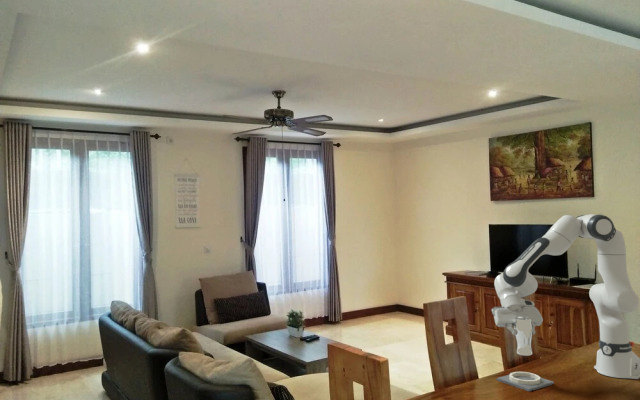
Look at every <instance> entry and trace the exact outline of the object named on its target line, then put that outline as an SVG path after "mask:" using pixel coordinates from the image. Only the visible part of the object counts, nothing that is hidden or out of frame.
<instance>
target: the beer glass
mask: <svg viewBox="0 0 640 400" xmlns="http://www.w3.org/2000/svg"><path fill="white" fill-rule="evenodd" d="M517 318H523V319H525V320H519V319H517ZM513 329H515V330H516V332H517V335H515V339H516V344H517V348H516V354H517V355H519V356H525V357H526V356H527V357H528V356H531V355H533V351H532V350H533V349H532V337H533V334H532V323H531V318H529V317H515V318H514V327H513Z"/></svg>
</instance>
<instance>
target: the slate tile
mask: <svg viewBox="0 0 640 400" xmlns="http://www.w3.org/2000/svg"><path fill="white" fill-rule="evenodd" d="M496 381H498V382H500V383H504V384H505V385H506V384H507V385H508V386H509V385H510V386H512V387H514V386H515V387H514V388H517V389H521V390H523V389H524V391H525V392H526V391H527V392H532V390H533V391H535V390H539V389H542V388H545V387H546V388H547V387H549V386H553V385H554V384H555V381H553V380H549V379H546V378H543V377H541V376H539V375H538V374H535V373H532V372H529V371H528V372H527V371H513V372H510V373H509V374H507V375H503V376H499V377H496ZM552 384H553V385H552Z"/></svg>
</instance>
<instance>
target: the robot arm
mask: <svg viewBox="0 0 640 400" xmlns="http://www.w3.org/2000/svg"><path fill="white" fill-rule="evenodd" d="M577 238H582V239H587V240H588V239H589V240H594V241H595V243H596V247H597V251H596V252H597V256H596V257H597V272H598V273H599V275H600V276H601V278H602V280H603V282H601V283H596V284H594V285H592V286H591V287H590V289H589V292H588V294H589V295H588V296H589V298H590V300H591V302H593V306H594V307H595V308H594V309H595V311H596V314H597V318H598V323H599V339H598V347H599V349H598V350H597V351H596V364H595V365H593V368H594V369H595V370H596V371H597V372H598V374H601V375H603V376H607V377H611V378H618V379H632V380H639V379H640V357H639V356H638V355H636V353H635V352H634V351H633V348H634V347H635V342H634V341H630V339H629V338H630V335H629V333H630V331H629V324H628V322H627V321H626V319H625V317H624V315H623V313H632V312H635V311H636V310H637V309H638V308H639V305H640V299H639V296H638V295H637V293H636V291H634V289H633V287H632V285H631V281H630V279H629V275H628V269H627V268H628V266H627V251H626V248H627V247H626V244H625V237H624V234H623V233H622V232H621V231H619V230H617V229H616V227H615V224H614V222H613V221H612V219H611V218H610V217H608V216H607V215H604V214H595V213H589V214H585V215H584V214H581V215H578V216H576V217H575V216H573V215H571V214H564V215H562V216H561V217H560V218H559V219H558V220H557V221H555V222H554V224H553V225H552V226H551V227H550V228H549V229H548V230H547V232H546V233H545V234H543V236H542V237H539V238H537V239H536V240H534V241H533V242H532V243H531V244H529V246H528V247H527V248H526V249H525V250H524V251H523V252H522V253H521V254H520V255H519V256H518V257H517V258H516V259H515V260H514V261H512V262H511V263H508V265H507V266H506V267H505V269H504V270H503V273H500V274H498V275H497V276H496V277H495V278H494V283H493V285H494V289H495V292H496V295H497V297H498V299H499V300H500V302H499V303H500V304H501V306H494V307H492V308H491V313H492V315H493V319H494V323H495V326H497V328H507V330H509V332H511V334H512V336H516V335H517V332H516V330H515V329H514V318H515V317H529V318H531V323H532V335H535V334H536V330H535V327H537V326H538V327H539V326H541V325H542V323H543V321H544V318H543V316H542V314H541V313H540V310H539V309H538V308H537V307H535V305H536V304H535V302H534V301H531V300H528V299H524V298H526V297H528V296H531V295H533V294H534V293H535V292H536V291H537V289H538V287H539V282H538V280H537V279H536V277H534V275H532V274H531V273H530V272H529V269H530V268H531V267H532V266H533V264H535V262H536V261H537V260H539V258H540V257H541V256H543V255H549V256H561V255H563V254H564V253H566V252H567V251H568V250H569V248H570V247H571V246H572V244H573V243H574V242H575V240H576V239H577ZM517 319H519V320H525V319H523V318H517ZM632 347H633V348H632Z"/></svg>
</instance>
